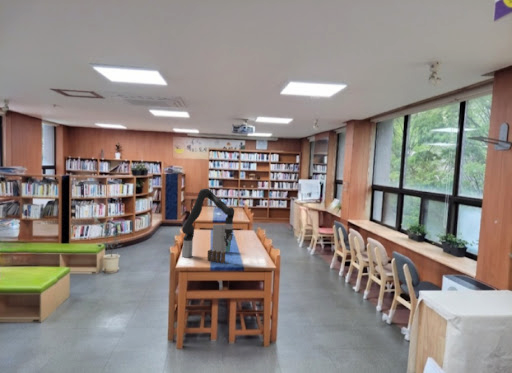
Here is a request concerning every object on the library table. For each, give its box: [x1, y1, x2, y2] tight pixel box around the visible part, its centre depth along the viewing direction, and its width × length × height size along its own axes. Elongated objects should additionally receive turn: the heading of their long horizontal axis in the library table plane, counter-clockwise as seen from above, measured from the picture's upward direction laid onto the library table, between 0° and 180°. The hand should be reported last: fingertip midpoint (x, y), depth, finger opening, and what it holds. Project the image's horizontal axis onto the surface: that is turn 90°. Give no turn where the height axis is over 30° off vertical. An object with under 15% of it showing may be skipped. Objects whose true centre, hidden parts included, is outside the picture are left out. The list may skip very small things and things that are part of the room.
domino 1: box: [206, 249, 212, 262], centre depth 308 cm, size 2×5×10 cm, turn 158°
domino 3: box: [215, 251, 221, 263], centre depth 304 cm, size 2×5×10 cm, turn 158°
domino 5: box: [226, 241, 231, 253], centre depth 300 cm, size 2×5×10 cm, turn 158°
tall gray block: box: [211, 224, 226, 254], centre depth 338 cm, size 14×6×30 cm, turn 103°
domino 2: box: [211, 250, 217, 263], centre depth 306 cm, size 2×5×10 cm, turn 158°
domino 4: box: [220, 252, 226, 264], centre depth 303 cm, size 2×5×10 cm, turn 158°
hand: (228, 245), depth 300 cm, fingers closed on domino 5, 5 cm apart
